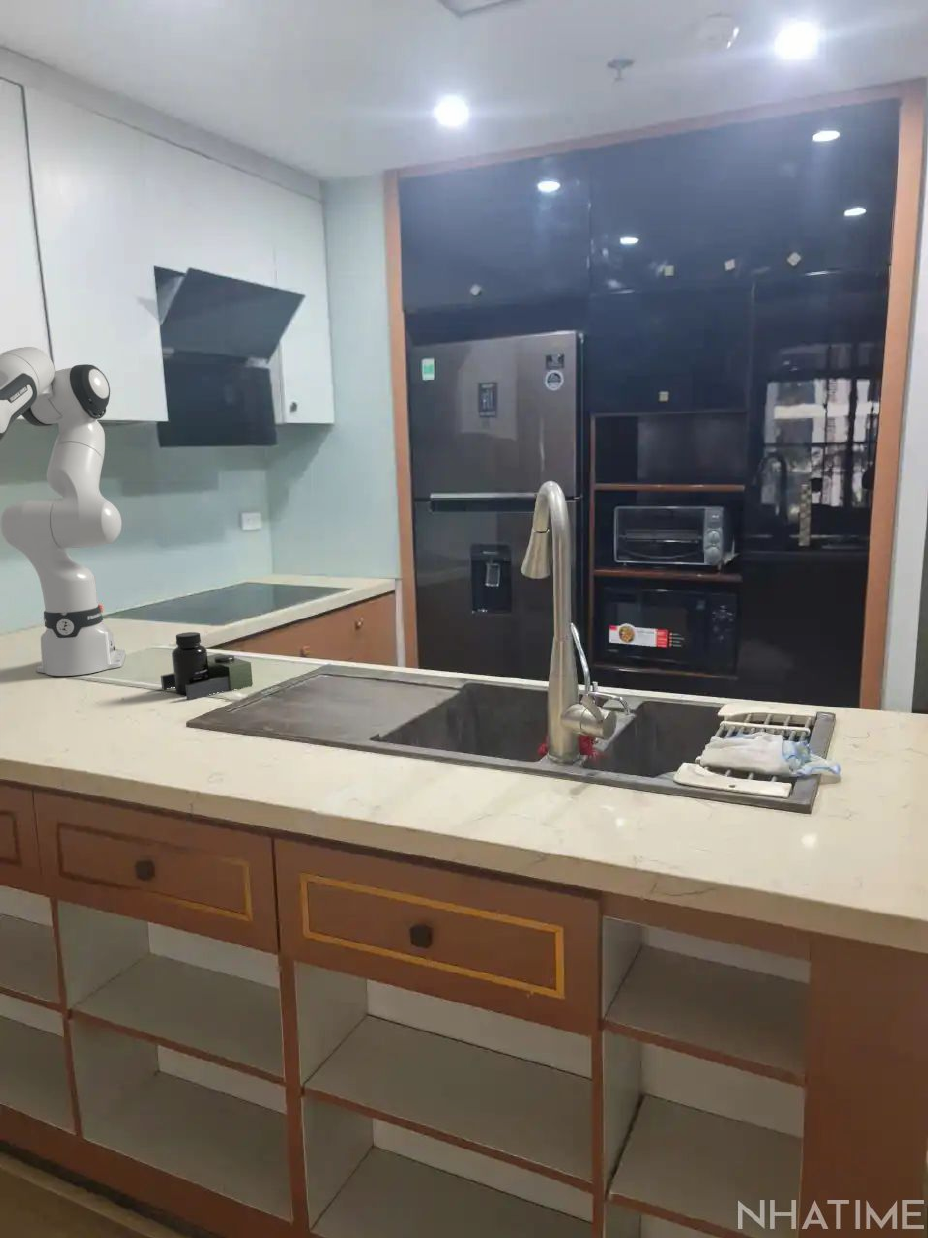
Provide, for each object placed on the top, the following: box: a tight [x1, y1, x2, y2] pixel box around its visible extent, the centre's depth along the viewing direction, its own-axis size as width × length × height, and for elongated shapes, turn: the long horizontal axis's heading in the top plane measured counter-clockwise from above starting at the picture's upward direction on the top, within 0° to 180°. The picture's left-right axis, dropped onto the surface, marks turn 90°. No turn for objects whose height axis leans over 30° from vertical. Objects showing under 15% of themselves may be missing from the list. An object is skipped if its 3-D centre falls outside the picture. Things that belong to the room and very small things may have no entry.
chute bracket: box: [160, 653, 254, 701], centre depth 183 cm, size 14×13×6 cm
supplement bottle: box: [171, 631, 209, 696], centre depth 180 cm, size 7×7×12 cm
